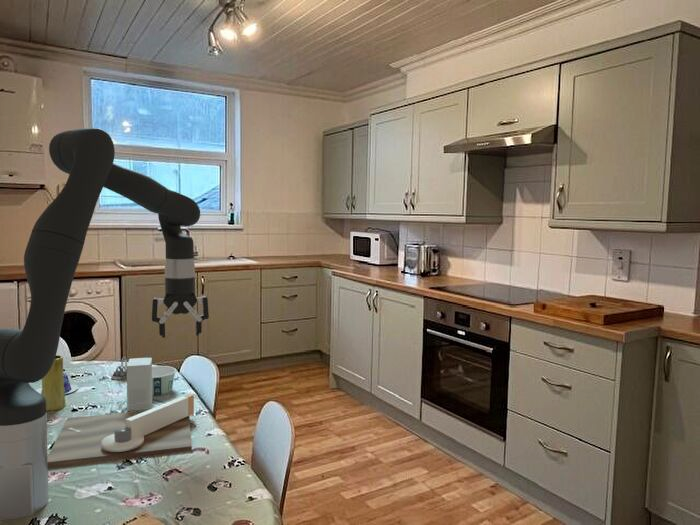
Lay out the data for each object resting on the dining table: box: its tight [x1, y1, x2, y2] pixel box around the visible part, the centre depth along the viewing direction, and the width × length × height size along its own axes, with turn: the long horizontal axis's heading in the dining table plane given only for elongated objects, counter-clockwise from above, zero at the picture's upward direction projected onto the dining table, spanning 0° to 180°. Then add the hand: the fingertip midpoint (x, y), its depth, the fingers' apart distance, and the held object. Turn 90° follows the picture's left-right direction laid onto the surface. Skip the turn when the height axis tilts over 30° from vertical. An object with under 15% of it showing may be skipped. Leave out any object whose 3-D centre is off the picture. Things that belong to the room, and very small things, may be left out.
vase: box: [41, 354, 66, 412], centre depth 148 cm, size 6×6×14 cm
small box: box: [126, 357, 153, 412], centre depth 151 cm, size 8×6×13 cm
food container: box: [152, 365, 177, 397], centre depth 163 cm, size 12×12×6 cm
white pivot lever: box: [102, 393, 195, 452], centre depth 130 cm, size 26×9×5 cm, turn 154°
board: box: [48, 410, 193, 469], centre depth 130 cm, size 26×30×2 cm
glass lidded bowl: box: [110, 355, 128, 381], centre depth 178 cm, size 9×9×8 cm
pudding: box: [34, 372, 79, 395], centre depth 162 cm, size 12×12×5 cm
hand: (180, 336), depth 140 cm, fingers open, 8 cm apart
